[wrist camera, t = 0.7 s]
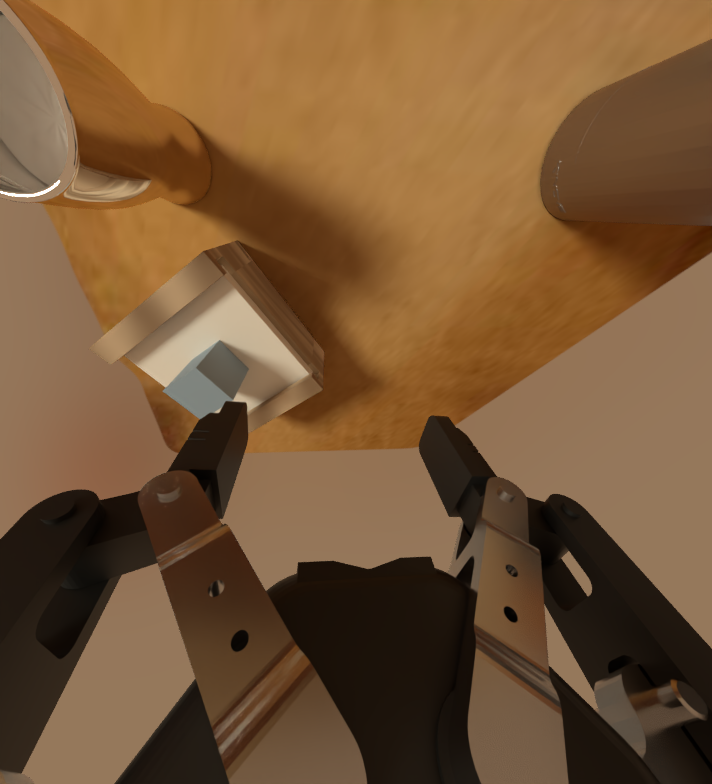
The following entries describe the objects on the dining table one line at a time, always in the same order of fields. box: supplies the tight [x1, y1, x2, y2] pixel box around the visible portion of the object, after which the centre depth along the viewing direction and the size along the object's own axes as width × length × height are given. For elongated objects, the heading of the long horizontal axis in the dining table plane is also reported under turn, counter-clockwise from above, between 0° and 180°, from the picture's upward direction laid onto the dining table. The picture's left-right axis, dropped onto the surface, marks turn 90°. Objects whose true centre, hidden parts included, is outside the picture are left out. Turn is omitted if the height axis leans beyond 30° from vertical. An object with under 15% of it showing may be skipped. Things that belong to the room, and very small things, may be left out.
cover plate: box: [124, 265, 313, 419], centre depth 23 cm, size 12×12×6 cm
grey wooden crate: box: [89, 241, 324, 433], centre depth 27 cm, size 13×14×8 cm
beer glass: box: [0, 0, 211, 210], centre depth 15 cm, size 7×7×15 cm
